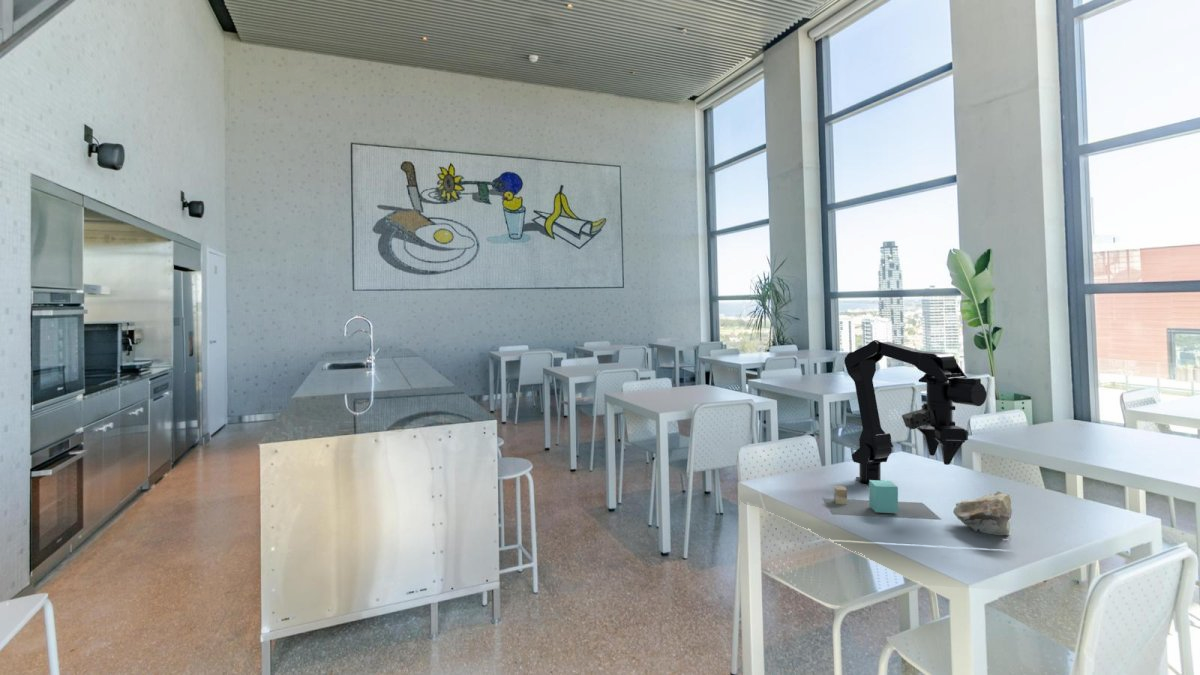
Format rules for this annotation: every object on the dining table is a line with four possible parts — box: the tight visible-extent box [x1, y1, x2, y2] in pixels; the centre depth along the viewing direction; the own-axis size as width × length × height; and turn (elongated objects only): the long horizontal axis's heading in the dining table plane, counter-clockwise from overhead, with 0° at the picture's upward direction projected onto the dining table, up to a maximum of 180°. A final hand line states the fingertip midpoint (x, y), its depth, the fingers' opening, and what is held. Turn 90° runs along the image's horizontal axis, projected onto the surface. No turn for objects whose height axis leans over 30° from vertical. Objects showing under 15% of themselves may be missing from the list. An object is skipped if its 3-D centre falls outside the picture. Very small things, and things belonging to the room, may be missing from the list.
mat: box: [821, 498, 942, 521], centre depth 140 cm, size 12×25×1 cm, turn 79°
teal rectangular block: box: [868, 480, 899, 513], centre depth 138 cm, size 5×5×7 cm
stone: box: [953, 491, 1013, 537], centre depth 125 cm, size 11×14×10 cm
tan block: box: [833, 485, 848, 505], centre depth 145 cm, size 3×3×4 cm
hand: (939, 459), depth 143 cm, fingers open, 9 cm apart
